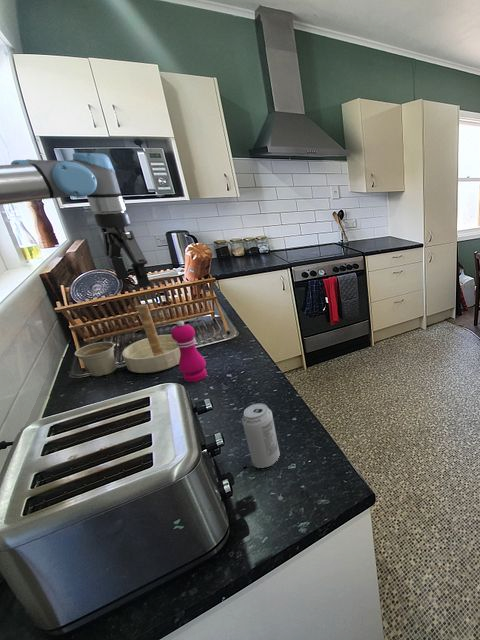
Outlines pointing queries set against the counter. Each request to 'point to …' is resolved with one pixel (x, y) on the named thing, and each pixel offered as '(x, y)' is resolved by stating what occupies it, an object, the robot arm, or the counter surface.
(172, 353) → the bowl
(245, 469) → the counter surface
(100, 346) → the flower pot
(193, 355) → the pepper mill
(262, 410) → the energy drink can
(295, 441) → the counter surface
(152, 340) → the stick
